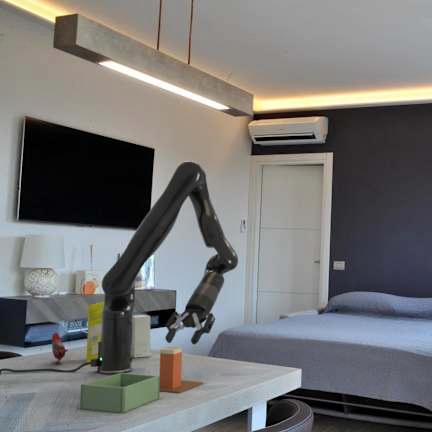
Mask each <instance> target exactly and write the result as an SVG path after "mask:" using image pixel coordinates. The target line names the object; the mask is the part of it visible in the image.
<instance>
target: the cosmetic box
mask: <svg viewBox="0 0 432 432" xmlns="http://www.w3.org/2000/svg"><path fill="white" fill-rule="evenodd" d="M131 357H132V358H148V357H149V358H150V357H151V315H149V314H137V315H136V314H135V315H133V322H132V353H131Z"/></svg>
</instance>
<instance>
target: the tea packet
mask: <svg viewBox="0 0 432 432" xmlns="http://www.w3.org/2000/svg"><path fill="white" fill-rule="evenodd" d="M182 358H183V347H178V346H177V347H175V346H167V347H163V348H160V349H159V376H160V388H169V389H173V388H176V387H179V386H181V380H182V363H183V361H182V360H183V359H182Z"/></svg>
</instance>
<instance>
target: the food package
mask: <svg viewBox="0 0 432 432" xmlns="http://www.w3.org/2000/svg"><path fill="white" fill-rule="evenodd" d="M103 306H104V301H101V302H97V303H92V304H88V309H87V310H88V311H87V313H88V315H87V337H86V362H85V363H88V362H91V359H94V358H98V343H99V342H100V341H101V330H102V310H103Z"/></svg>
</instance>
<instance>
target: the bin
mask: <svg viewBox="0 0 432 432" xmlns="http://www.w3.org/2000/svg"><path fill="white" fill-rule="evenodd" d="M160 392H161V391H160V375H154V374H141V373H140V374H139V373H129V372H123V373H115V374H113V375H112V374H111V375H109V376H105V377H102V378H98V379H96V380H92V381H88V382H85V383H82V384H80V397H79V399H80V401H79V409H81V410H89V411H90V410H91V411H101V412H111V413H120V414H121V413H123V414H124V413H125V412H128V411H130V410H134V409H137V408H138V407H141V406H144V405H146V404H148V403H151V402H154V401H156V400H159V399H160Z"/></svg>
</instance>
